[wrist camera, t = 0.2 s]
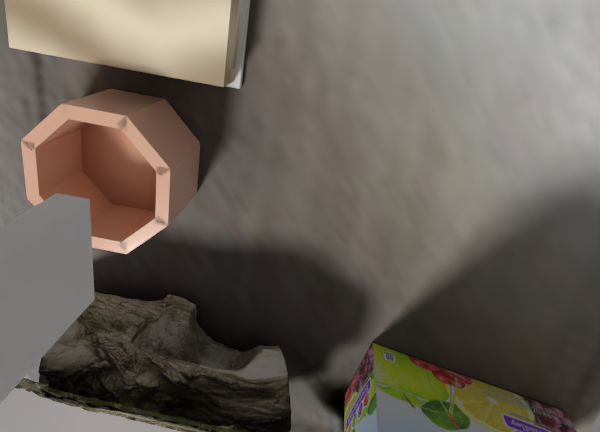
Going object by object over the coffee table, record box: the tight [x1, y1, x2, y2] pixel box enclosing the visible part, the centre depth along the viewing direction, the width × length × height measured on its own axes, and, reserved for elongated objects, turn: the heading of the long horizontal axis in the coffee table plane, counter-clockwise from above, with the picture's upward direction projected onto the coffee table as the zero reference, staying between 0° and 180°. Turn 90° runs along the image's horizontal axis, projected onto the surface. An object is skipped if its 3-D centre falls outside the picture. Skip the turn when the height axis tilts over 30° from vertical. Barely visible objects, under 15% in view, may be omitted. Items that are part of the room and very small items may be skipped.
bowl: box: [21, 89, 200, 254], centre depth 36 cm, size 11×11×7 cm
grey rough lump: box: [15, 292, 291, 432], centre depth 42 cm, size 28×13×15 cm
